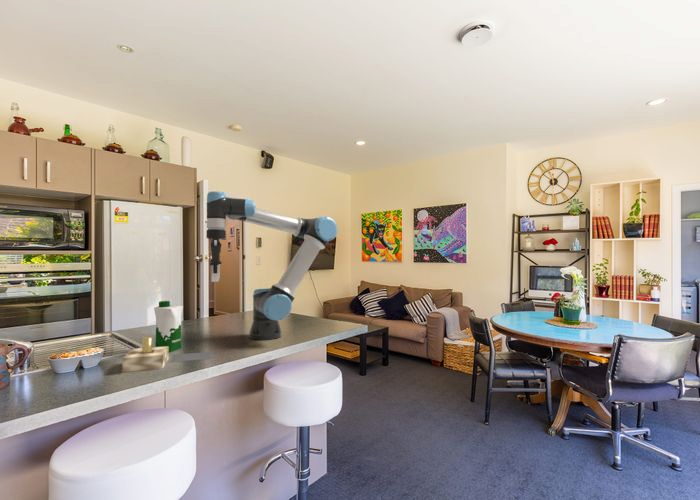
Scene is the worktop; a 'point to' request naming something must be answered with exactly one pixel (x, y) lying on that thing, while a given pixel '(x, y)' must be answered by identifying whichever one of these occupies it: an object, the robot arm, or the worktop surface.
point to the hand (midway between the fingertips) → (215, 280)
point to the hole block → (145, 359)
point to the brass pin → (146, 345)
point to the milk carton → (168, 325)
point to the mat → (191, 356)
